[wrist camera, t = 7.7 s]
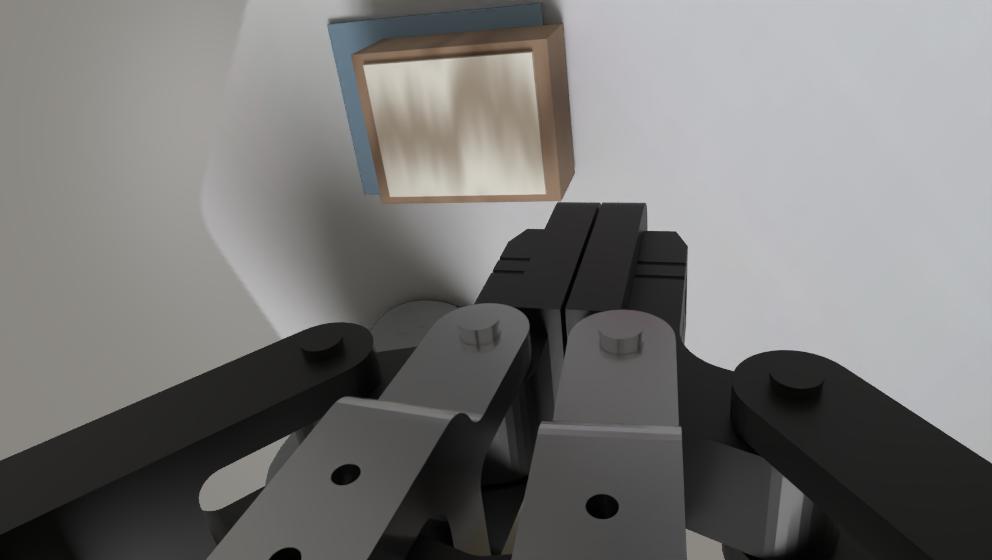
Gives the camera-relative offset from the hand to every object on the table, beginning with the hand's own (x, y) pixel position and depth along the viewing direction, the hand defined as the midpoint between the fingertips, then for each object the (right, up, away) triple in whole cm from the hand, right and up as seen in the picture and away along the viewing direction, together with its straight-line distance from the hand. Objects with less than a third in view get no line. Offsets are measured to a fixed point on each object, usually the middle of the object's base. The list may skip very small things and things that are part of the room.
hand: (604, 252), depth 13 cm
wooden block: (+2, +8, +24) cm, 26 cm away
